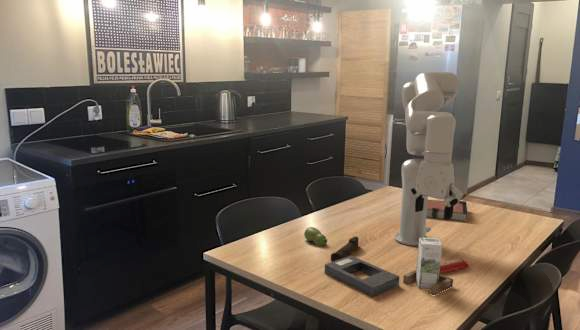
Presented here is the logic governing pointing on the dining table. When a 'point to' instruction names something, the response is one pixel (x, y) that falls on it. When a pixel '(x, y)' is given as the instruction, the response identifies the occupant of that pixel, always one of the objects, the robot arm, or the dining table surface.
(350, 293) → the dining table surface
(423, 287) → the syrup box
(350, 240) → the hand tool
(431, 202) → the book
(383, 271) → the grey rectangular frame
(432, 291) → the cradle
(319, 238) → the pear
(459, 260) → the candy bar
